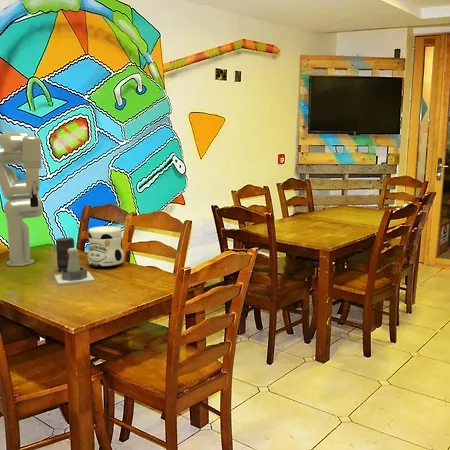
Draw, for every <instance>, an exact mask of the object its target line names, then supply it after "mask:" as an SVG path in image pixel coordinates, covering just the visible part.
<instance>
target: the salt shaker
mask: <svg viewBox="0 0 450 450" xmlns="http://www.w3.org/2000/svg"><path fill="white" fill-rule="evenodd" d="M78 253H79V250H78V248H76V247H74V248H69V249H68V254H69V261H68V268H67V272H78V271H80V267H81V266H80V263H79V258H78Z"/></svg>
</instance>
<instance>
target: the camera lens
mask: <svg viewBox="0 0 450 450" xmlns="http://www.w3.org/2000/svg"><path fill="white" fill-rule="evenodd" d="M55 240H56V242H55V248H56V265H57V268H58V271H59V272H60V273H61V269H64V268H67V267H68V261H69V254H68V249H69V248H75V240H74V238H73V237H59V238H57V239H55Z"/></svg>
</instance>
